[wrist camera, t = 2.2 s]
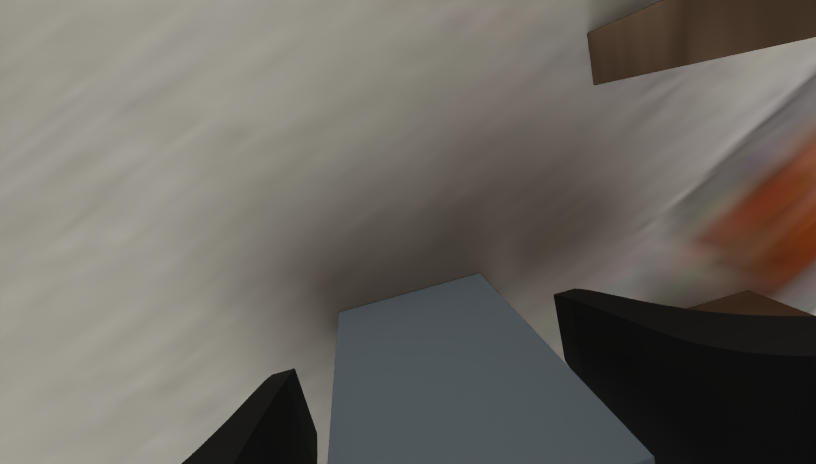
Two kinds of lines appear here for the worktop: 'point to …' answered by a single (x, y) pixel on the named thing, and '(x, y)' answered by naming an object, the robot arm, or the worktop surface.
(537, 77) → the worktop surface
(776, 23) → the domino
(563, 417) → the domino
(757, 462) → the robot arm
